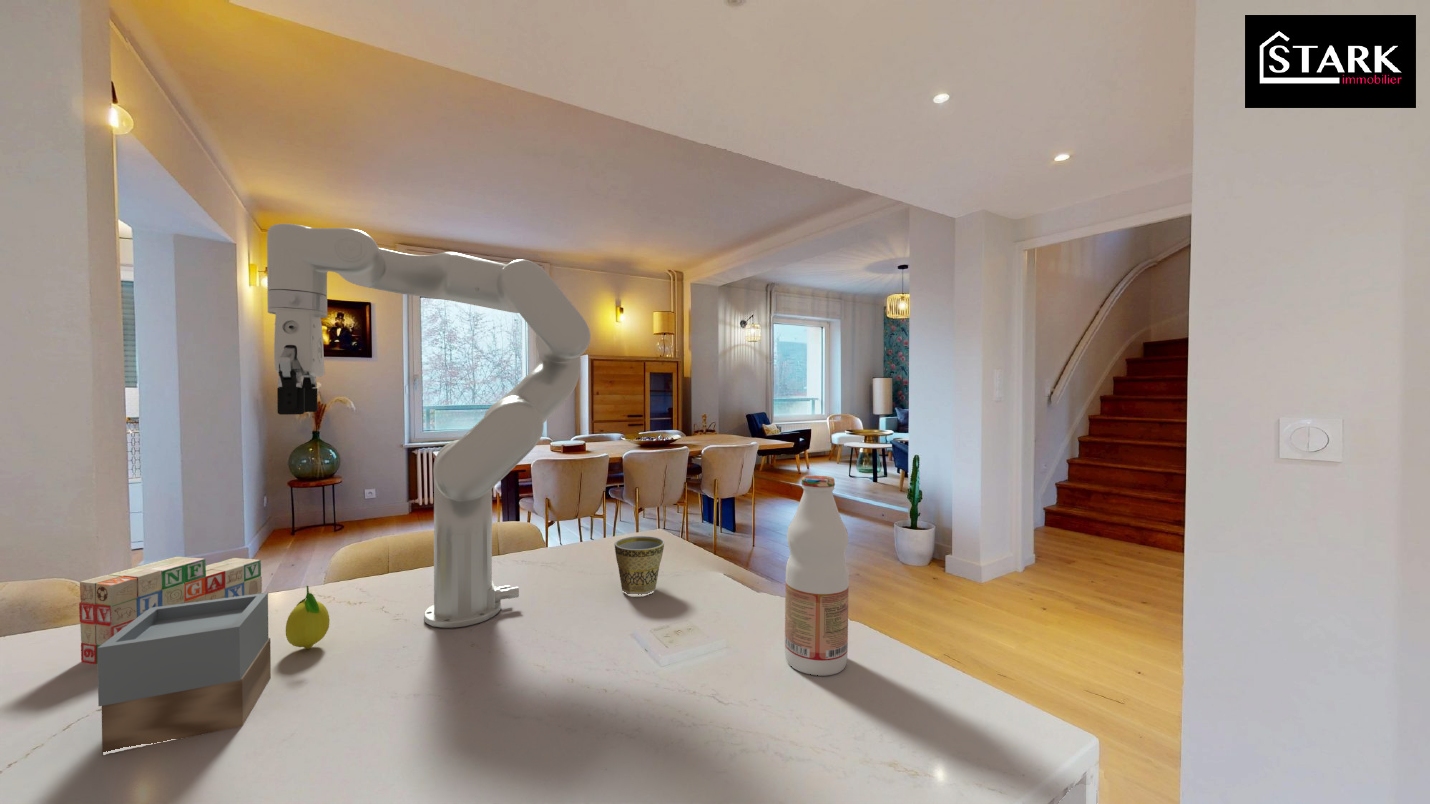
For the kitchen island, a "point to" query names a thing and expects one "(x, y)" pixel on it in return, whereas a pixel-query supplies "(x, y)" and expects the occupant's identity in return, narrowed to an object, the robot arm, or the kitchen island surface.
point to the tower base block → (186, 710)
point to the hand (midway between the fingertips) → (298, 413)
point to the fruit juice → (817, 583)
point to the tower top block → (182, 648)
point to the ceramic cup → (639, 563)
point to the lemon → (307, 622)
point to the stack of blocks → (157, 593)
